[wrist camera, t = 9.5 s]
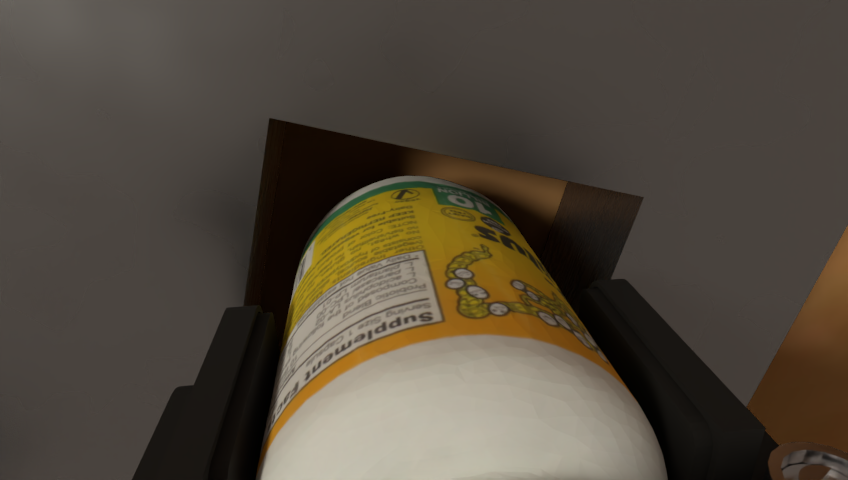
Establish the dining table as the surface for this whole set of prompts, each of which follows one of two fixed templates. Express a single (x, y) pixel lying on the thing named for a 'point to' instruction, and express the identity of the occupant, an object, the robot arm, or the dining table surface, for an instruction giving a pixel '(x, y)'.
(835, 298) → the dining table surface
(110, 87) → the block
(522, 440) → the supplement bottle
